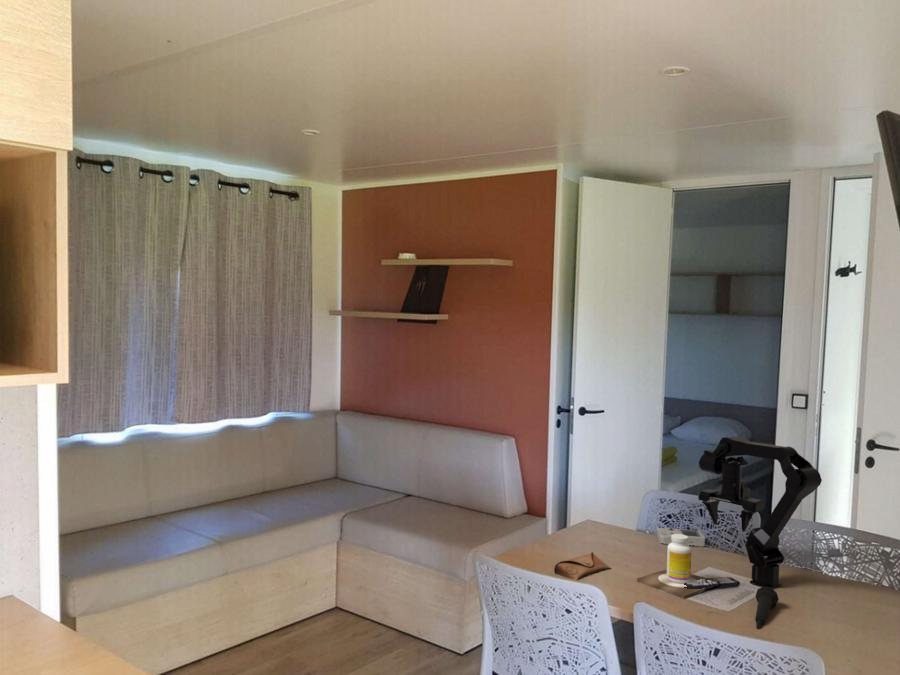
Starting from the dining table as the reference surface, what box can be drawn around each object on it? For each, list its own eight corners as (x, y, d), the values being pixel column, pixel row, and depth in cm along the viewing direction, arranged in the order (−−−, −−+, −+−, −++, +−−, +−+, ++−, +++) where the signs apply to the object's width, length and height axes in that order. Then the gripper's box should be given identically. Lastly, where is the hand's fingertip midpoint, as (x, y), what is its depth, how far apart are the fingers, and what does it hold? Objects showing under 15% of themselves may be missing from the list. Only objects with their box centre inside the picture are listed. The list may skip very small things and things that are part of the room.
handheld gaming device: (656, 537, 260) (656, 526, 260) (700, 540, 258) (700, 529, 258) (659, 545, 251) (660, 534, 251) (704, 548, 249) (705, 537, 249)
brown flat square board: (719, 585, 213) (719, 582, 213) (684, 598, 203) (684, 595, 203) (672, 569, 226) (672, 566, 226) (636, 581, 216) (637, 577, 215)
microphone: (765, 642, 184) (775, 606, 201) (772, 623, 182) (782, 588, 199) (742, 631, 186) (754, 596, 203) (750, 612, 184) (761, 579, 201)
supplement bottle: (693, 584, 211) (694, 540, 210) (670, 583, 211) (671, 539, 211) (686, 576, 218) (687, 533, 217) (663, 575, 218) (665, 532, 217)
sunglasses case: (576, 581, 214) (567, 558, 216) (559, 587, 219) (551, 565, 221) (613, 568, 226) (604, 546, 229) (596, 574, 231) (588, 553, 233)
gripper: (773, 479, 224) (771, 530, 225) (716, 469, 238) (715, 517, 239) (755, 484, 217) (753, 537, 217) (698, 473, 231) (696, 522, 232)
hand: (729, 528), depth 227 cm, fingers open, 9 cm apart
